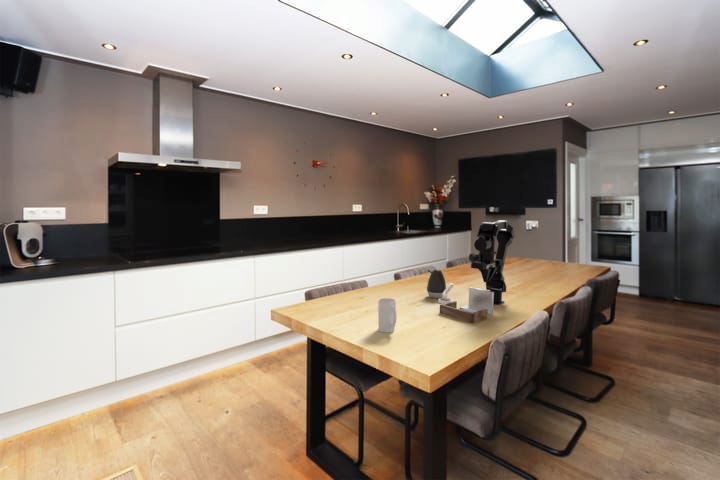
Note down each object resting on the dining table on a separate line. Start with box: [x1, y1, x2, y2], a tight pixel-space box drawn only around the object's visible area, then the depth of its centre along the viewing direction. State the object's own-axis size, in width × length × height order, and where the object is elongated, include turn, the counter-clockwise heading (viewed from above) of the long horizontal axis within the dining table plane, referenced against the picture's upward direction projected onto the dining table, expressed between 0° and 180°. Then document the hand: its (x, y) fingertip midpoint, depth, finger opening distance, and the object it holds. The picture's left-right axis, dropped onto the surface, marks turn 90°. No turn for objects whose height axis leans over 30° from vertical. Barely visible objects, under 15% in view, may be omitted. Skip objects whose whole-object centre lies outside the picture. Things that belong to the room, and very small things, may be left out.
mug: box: [377, 297, 398, 334], centre depth 144 cm, size 10×7×12 cm, turn 27°
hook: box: [437, 282, 455, 305], centre depth 186 cm, size 8×12×7 cm
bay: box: [439, 300, 488, 324], centre depth 165 cm, size 11×17×4 cm, turn 39°
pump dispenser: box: [426, 268, 447, 300], centre depth 196 cm, size 10×10×15 cm
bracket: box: [459, 286, 494, 315], centre depth 171 cm, size 8×12×10 cm
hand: (486, 281), depth 175 cm, fingers closed
